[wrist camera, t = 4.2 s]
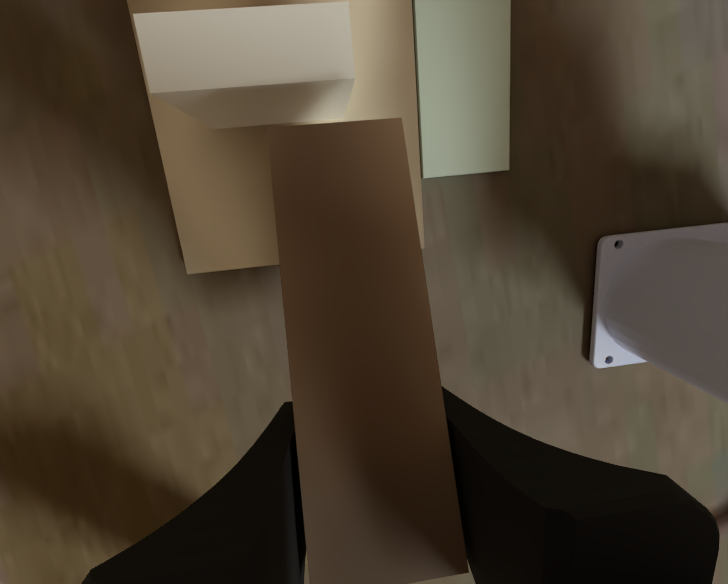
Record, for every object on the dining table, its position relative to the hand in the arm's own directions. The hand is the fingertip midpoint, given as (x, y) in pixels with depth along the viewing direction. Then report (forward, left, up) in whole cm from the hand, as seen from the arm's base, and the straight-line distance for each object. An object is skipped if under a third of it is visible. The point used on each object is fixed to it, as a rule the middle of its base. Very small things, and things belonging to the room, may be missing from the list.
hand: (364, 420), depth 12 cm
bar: (0, -1, -4) cm, 4 cm away
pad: (-7, -14, -10) cm, 19 cm away
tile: (+2, -11, -9) cm, 14 cm away
